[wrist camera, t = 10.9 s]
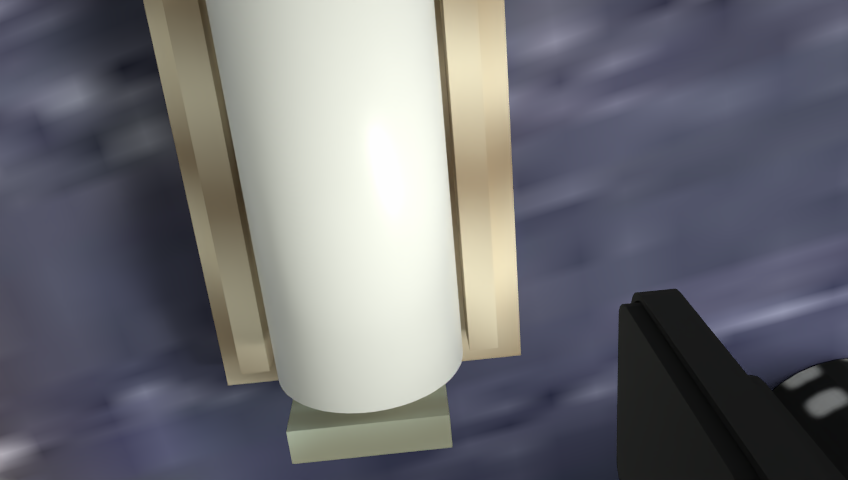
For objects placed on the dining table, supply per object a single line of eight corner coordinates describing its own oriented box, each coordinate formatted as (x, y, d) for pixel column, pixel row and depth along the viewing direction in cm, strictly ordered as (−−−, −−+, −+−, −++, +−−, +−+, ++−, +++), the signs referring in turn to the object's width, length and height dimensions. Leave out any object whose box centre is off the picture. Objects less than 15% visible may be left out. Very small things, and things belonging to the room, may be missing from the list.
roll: (218, -31, 22) (178, -26, 16) (417, -51, 22) (443, -52, 17) (285, 331, 27) (270, 430, 21) (449, 309, 27) (478, 401, 21)
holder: (138, -93, 23) (48, -108, 17) (491, -127, 23) (529, -154, 17) (235, 364, 29) (195, 474, 23) (514, 335, 29) (548, 437, 23)
